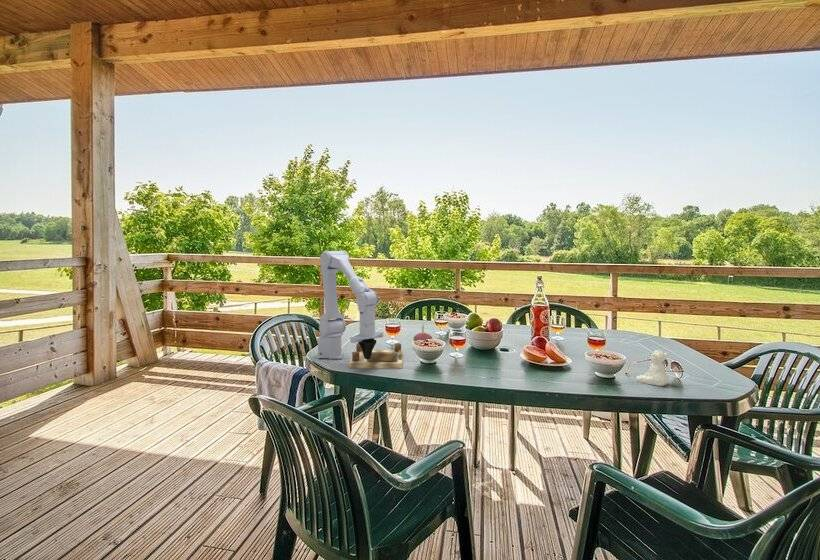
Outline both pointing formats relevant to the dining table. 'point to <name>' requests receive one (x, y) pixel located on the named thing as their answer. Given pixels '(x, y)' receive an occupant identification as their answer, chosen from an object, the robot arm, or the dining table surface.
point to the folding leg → (384, 356)
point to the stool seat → (360, 362)
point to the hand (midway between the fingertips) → (367, 358)
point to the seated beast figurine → (655, 370)
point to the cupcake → (422, 335)
